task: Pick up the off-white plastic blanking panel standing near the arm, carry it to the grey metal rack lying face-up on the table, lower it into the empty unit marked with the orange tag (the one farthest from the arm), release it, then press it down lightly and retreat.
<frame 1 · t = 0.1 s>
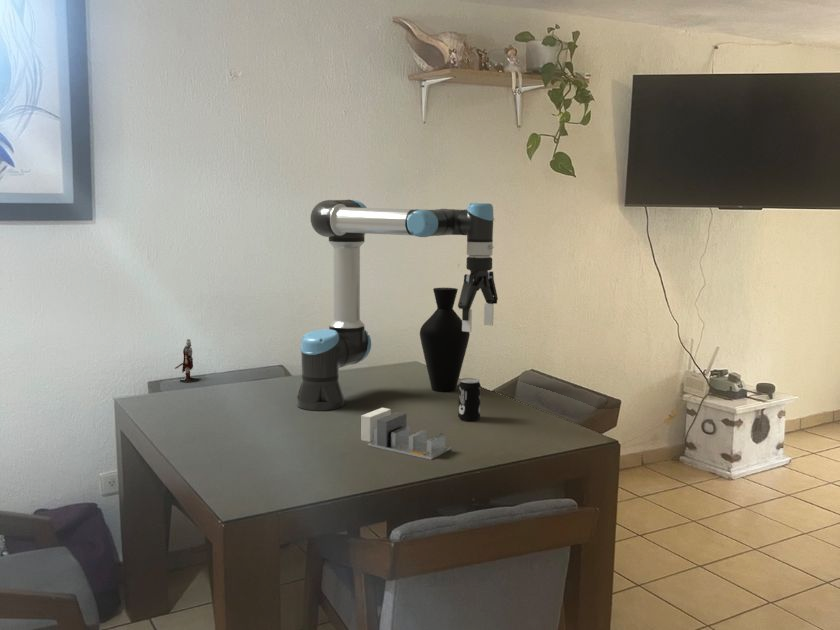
hand: (477, 328, 235), 28 cm above the table, fingers open, 13 cm apart
rack: (409, 447, 213), on the table
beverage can: (469, 419, 240), on the table
figurine: (188, 381, 284), on the table
vase: (443, 389, 276), on the table
blank panel: (376, 436, 222), on the table
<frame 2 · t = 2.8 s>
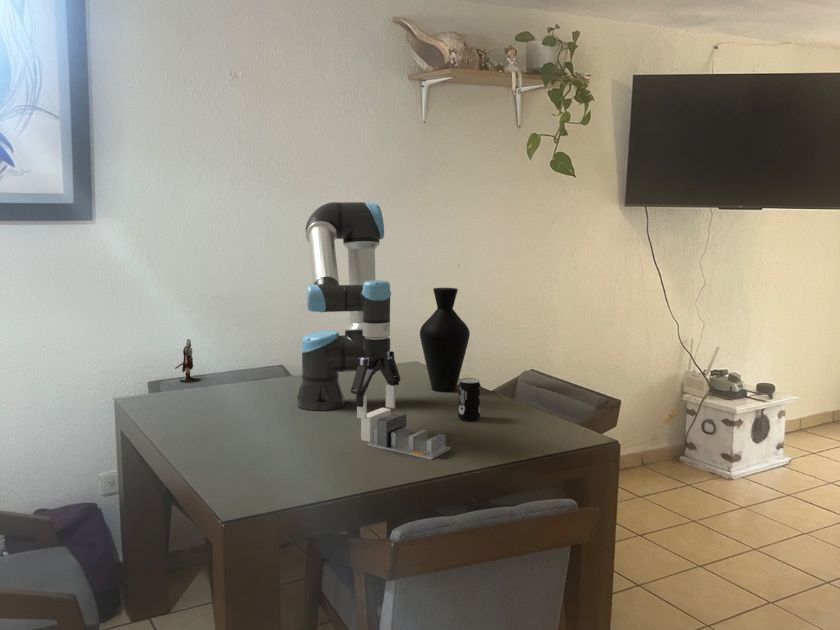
hand: (376, 412, 221), 7 cm above the table, fingers open, 13 cm apart
nothing on the table moved.
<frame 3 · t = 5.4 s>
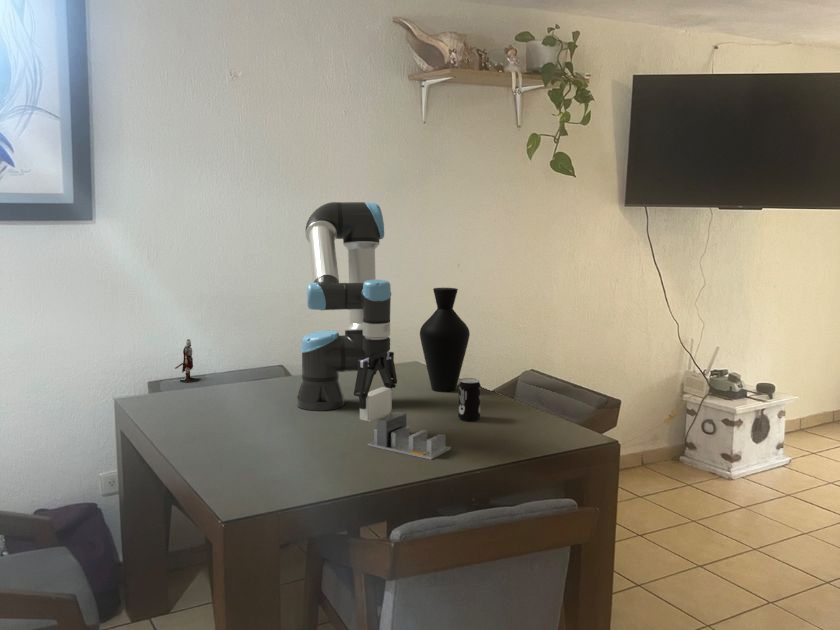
hand: (375, 414, 222), 6 cm above the table, fingers closed on blank panel, 10 cm apart
blank panel: (375, 415, 222), point 6 cm above the table, touching gripper
everything else where it was.
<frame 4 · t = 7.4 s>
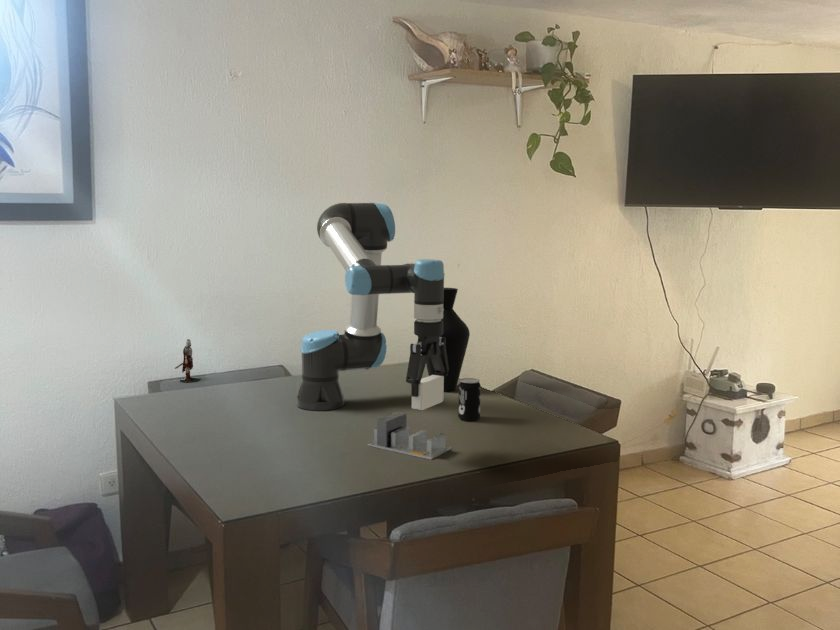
hand: (427, 404, 208), 13 cm above the table, fingers closed on blank panel, 10 cm apart
blank panel: (427, 405, 208), point 13 cm above the table, touching gripper
everything else where it was.
when the fingers open (3 cm above the table, at t = 9.6 s): blank panel drops 2 cm, resting on rack.
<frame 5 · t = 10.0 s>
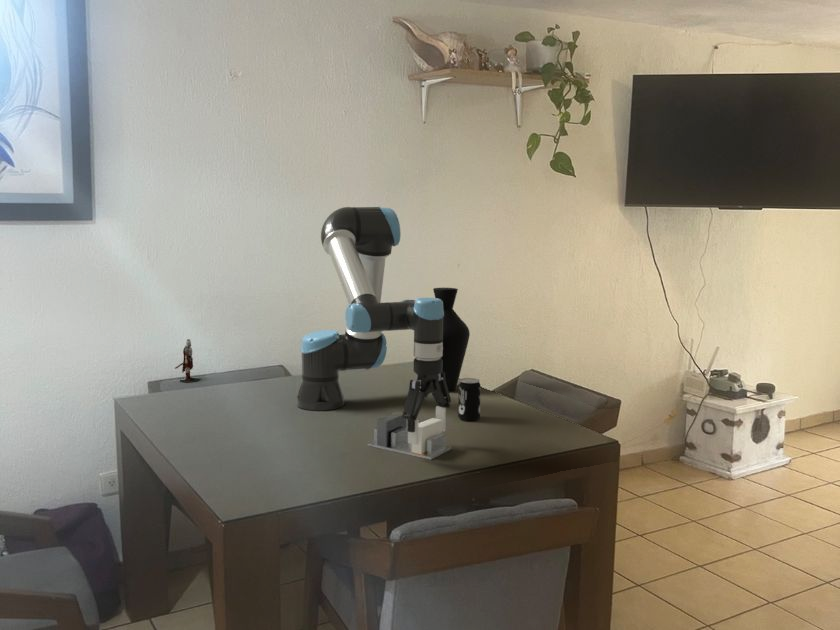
hand: (427, 437, 209), 4 cm above the table, fingers open, 13 cm apart
blank panel: (426, 448, 210), point 1 cm above the table, touching rack
everything else where it was.
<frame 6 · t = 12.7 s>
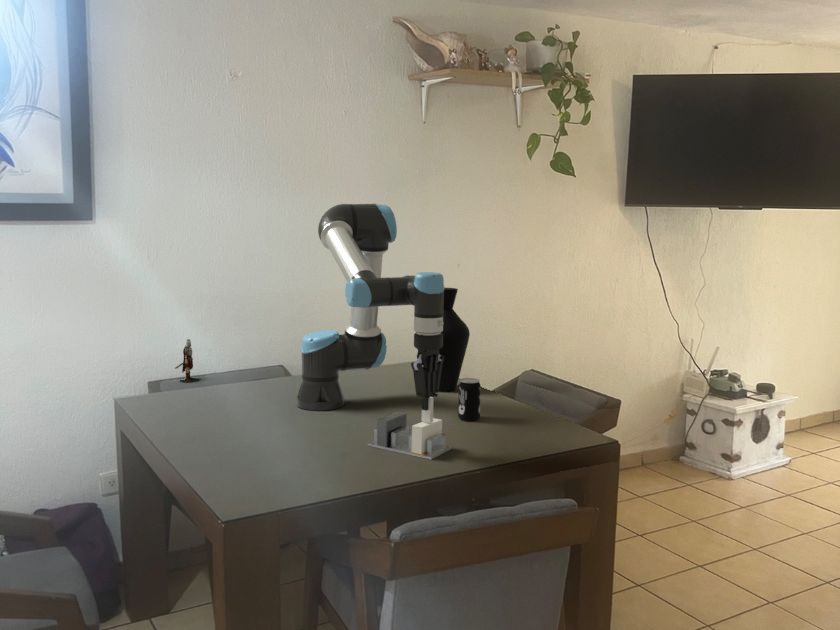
hand: (427, 421, 209), 8 cm above the table, fingers closed
nothing on the table moved.
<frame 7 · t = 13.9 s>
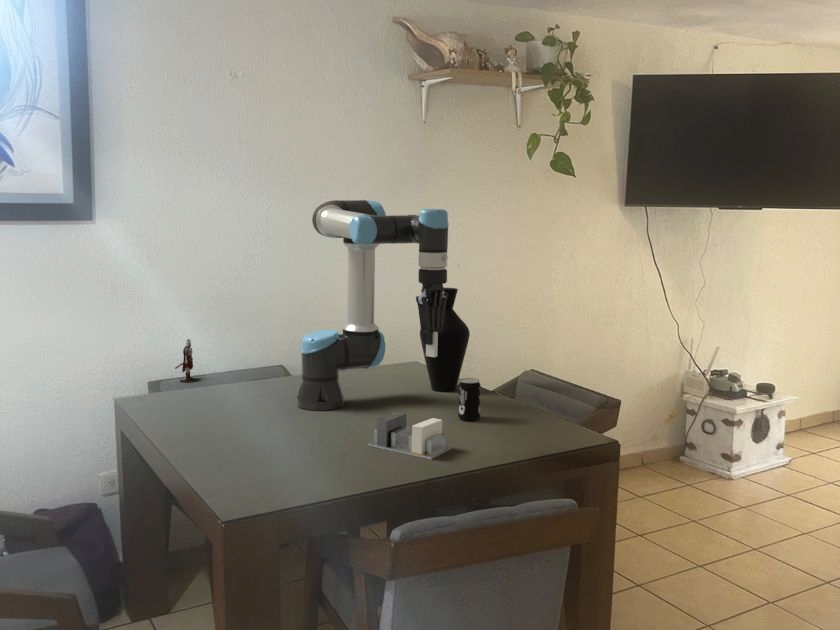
hand: (431, 356, 212), 24 cm above the table, fingers closed
nothing on the table moved.
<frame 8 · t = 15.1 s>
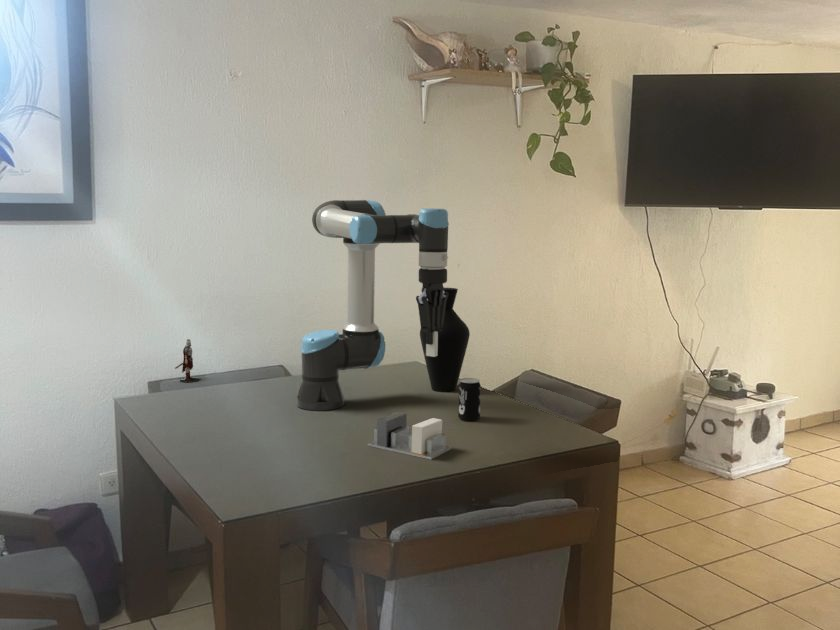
hand: (431, 355, 213), 24 cm above the table, fingers closed
nothing on the table moved.
at the end: blank panel 0.1 cm from the target spot on the rack, point 0.8 cm above the rack's base; blank panel tilted 2°; the gripper is holding nothing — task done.
